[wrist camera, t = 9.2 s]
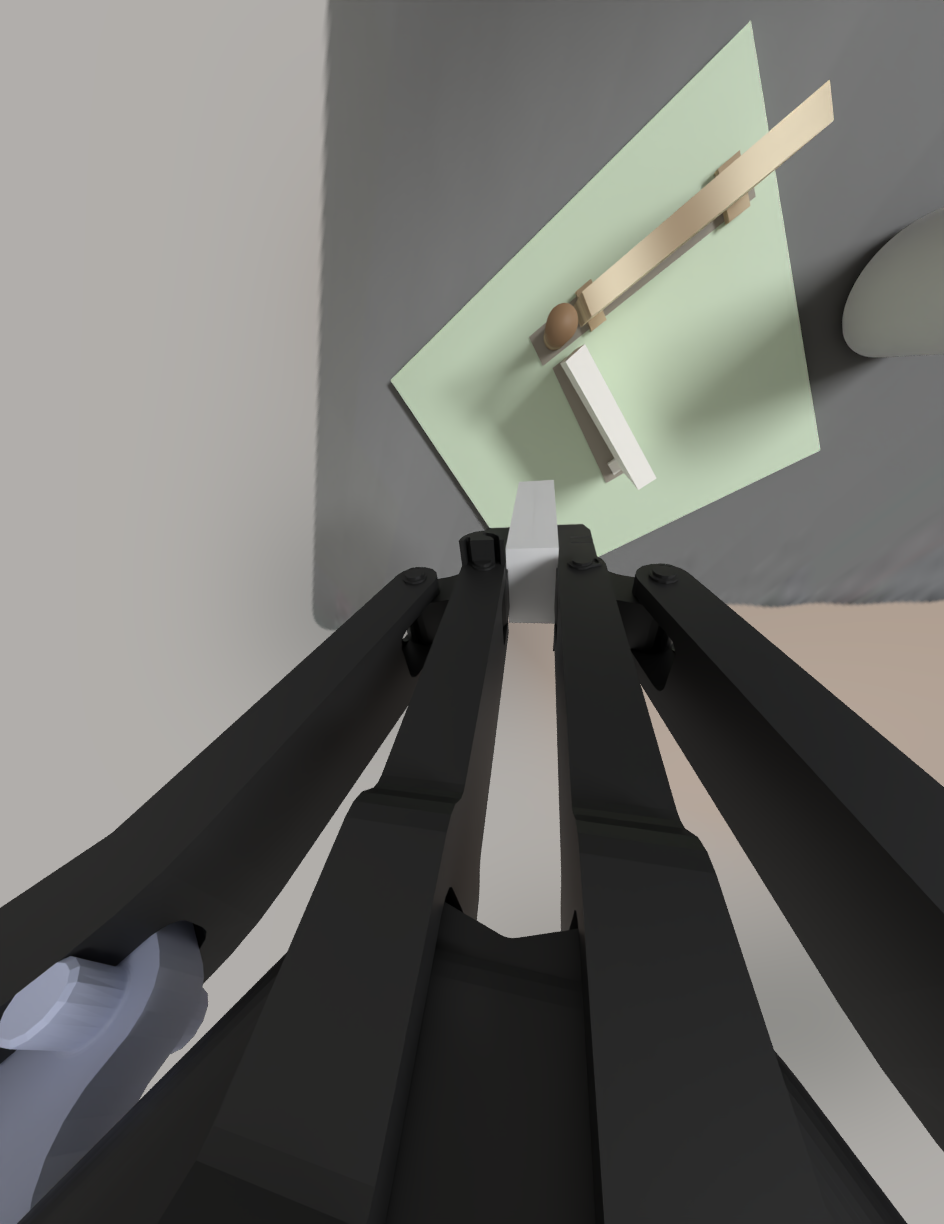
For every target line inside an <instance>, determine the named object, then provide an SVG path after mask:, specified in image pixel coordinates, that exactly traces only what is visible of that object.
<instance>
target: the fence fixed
mask: <svg viewBox="0 0 944 1224" xmlns="http://www.w3.org/2000/svg"><path fill="white" fill-rule="evenodd" d="M833 121H834V117H833V107H832V97H831V87H830V80H829V81H827V82H826V83H825V84H824V85H823V86H822V87H820V88H819V89H818V90H817V91H816V92H815V93H813V94H812V95H811V96H810V97H809V98H808V99H806V100H805V101H804V102H803V103H802V104H801V105H799V106H798V107H797V108H796V109H795V110H794V111H792V112H791V113H790V114H789V115H788V116H787V117H785V118H784V119H783V120H782V121H781V122H780V123H778V124H777V125H776V126H775V127H774V128H773V129H771V130H770V131H769V132H768V133H767V134H766V135H764V136H763V137H762V138H761V139H760V140H759V141H757V142H756V143H755V144H754V145H753V146H752V147H750V148H749V149H748V150H747V151H746V152H745V153H743V154H742V155H741V154H740V150H739V151H738V152H737V153H736V154H734V155H733V156H732V157H731V158H730V159H729V160H727V161H726V162H725V163H724V164H723V165H722V166H721V167H719V168H718V169H717V170H716V171H715V173H714V176H715V178H714V179H713V180H712V181H711V182H709V183H708V184H707V185H706V186H705V187H704V188H702V189H701V190H700V191H699V192H698V193H697V194H695V195H694V196H693V197H692V198H691V199H690V200H688V201H687V202H686V203H685V204H684V205H683V206H681V207H680V208H679V209H678V210H677V211H676V212H674V213H673V214H672V215H671V216H670V217H669V218H667V219H666V220H665V221H664V222H663V223H662V224H660V225H659V226H658V227H657V228H656V229H655V230H653V231H652V232H651V233H650V234H649V235H648V236H646V237H645V238H644V239H643V240H642V241H641V242H639V243H638V244H637V245H636V246H635V247H634V248H632V249H631V250H630V251H629V252H628V253H627V254H625V255H624V256H623V257H622V258H621V259H620V260H618V261H617V262H616V263H615V264H614V265H613V266H611V267H610V268H609V269H608V270H607V271H606V272H604V273H603V274H602V275H601V276H600V277H599V278H597V279H596V280H595V281H594V282H593V283H592V280H591V279H590V280H589V281H587V282H586V283H585V284H584V285H583V286H582V287H580V288H579V289H578V290H577V291H576V292H575V294H576V297H577V299H578V300H577V301H576V303H575V305H574V306H572V305H571V304H569V303H561V304H558V305H557V306H555V307H554V308H553V309H552V310H551V312H550V313H549V315H548V318H547V322H546V326H545V331H544V343H545V346H546V347H547V348H548V349H550V350H553V351H555V350H558V349H560V348H561V347H562V346H563V345H564V344H565V343H567V342H568V341H569V340H570V339H571V338H572V337H573V335H574V333H575V332H576V329H577V326H578V322H579V325H580V327H582V326H583V325H585V324H586V323H587V324H588V326H589V329H590V331H591V332H592V331H593V330H594V329H595V328H597V327H598V326H599V325H600V324H602V323H603V322H604V321H606V320H607V319H606V317H605V314H604V312H603V309H604V308H606V307H607V306H608V305H609V304H611V303H612V302H613V301H614V300H615V299H617V298H618V297H619V296H620V295H622V294H623V293H624V292H625V291H627V290H628V289H629V288H630V287H632V286H633V285H634V284H635V283H636V282H638V281H639V280H640V279H641V278H643V277H644V276H645V275H646V274H648V273H649V272H650V271H651V270H653V269H654V268H655V267H656V266H658V265H659V264H660V263H661V262H662V261H664V260H665V259H666V258H667V257H669V256H670V255H671V254H672V253H674V252H675V251H676V250H677V249H679V248H680V247H681V246H682V245H684V244H685V243H686V242H687V241H688V240H690V239H691V238H692V237H693V236H695V235H696V234H697V233H698V232H700V231H701V230H702V229H703V228H705V227H706V226H707V225H708V224H709V223H711V222H712V221H713V220H714V219H716V218H717V217H718V216H719V215H721V214H722V213H723V216H724V221H725V225H727V224H728V223H729V222H731V221H732V220H733V219H735V218H736V217H737V216H738V215H740V214H741V213H742V212H743V211H745V210H746V209H747V208H748V207H750V200H749V195H748V192H749V191H750V190H752V189H753V188H754V187H755V186H757V185H758V184H759V183H760V182H761V181H763V180H764V179H765V178H766V177H767V176H768V175H770V174H771V173H772V172H773V171H774V170H776V169H777V168H778V167H779V166H780V165H782V164H783V163H784V162H785V161H786V160H787V159H789V158H790V157H791V156H792V155H793V154H795V153H796V152H797V151H798V150H799V149H801V148H802V147H803V146H804V145H805V144H806V143H808V142H809V141H810V140H811V139H812V138H814V137H815V136H816V135H817V134H818V133H820V132H821V131H822V130H823V129H824V128H825V127H827V126H828V125H829V124H830V123H831V122H833Z"/></svg>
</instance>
